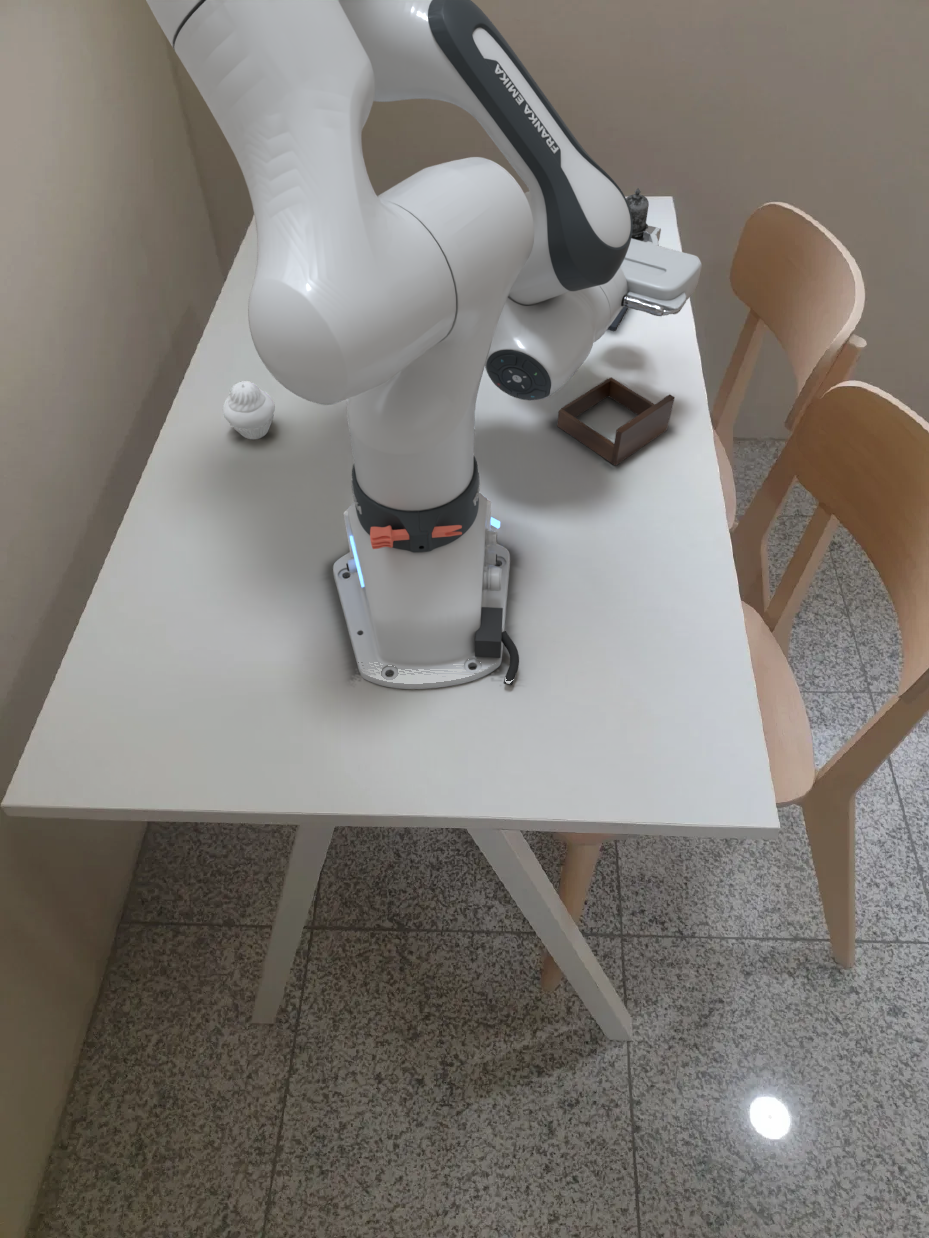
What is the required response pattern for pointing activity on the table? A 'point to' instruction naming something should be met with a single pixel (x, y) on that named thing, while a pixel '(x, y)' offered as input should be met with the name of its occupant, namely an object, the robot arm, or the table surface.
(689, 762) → the table surface
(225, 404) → the muffin
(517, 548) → the table surface
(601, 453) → the wooden square frame
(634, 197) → the dark grey chess piece
